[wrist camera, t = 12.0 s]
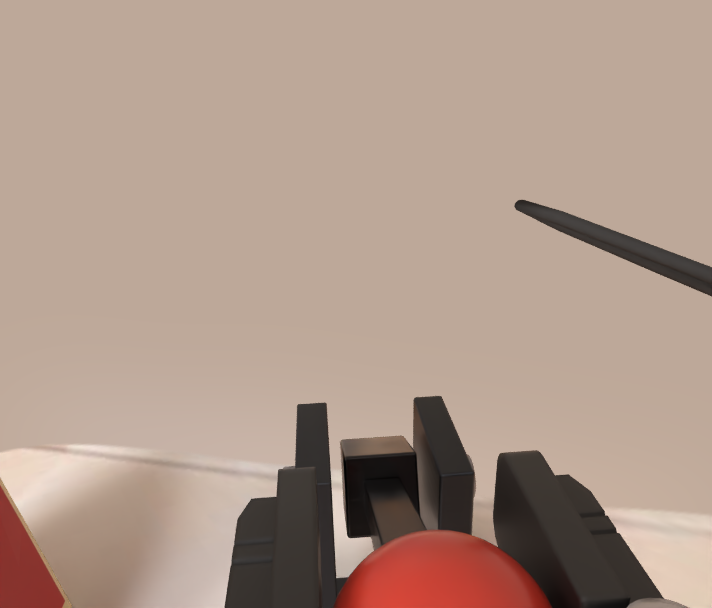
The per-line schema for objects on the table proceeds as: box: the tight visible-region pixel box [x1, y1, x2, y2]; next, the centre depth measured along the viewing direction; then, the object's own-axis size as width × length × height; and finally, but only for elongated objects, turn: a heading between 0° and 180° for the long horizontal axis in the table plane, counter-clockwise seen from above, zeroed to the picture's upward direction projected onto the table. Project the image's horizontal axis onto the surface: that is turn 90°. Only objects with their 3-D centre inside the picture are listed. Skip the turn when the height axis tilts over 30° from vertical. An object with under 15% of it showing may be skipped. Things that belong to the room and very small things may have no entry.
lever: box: [333, 436, 553, 608], centre depth 14 cm, size 13×4×4 cm, turn 4°
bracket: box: [283, 396, 476, 608], centre depth 20 cm, size 12×9×13 cm
